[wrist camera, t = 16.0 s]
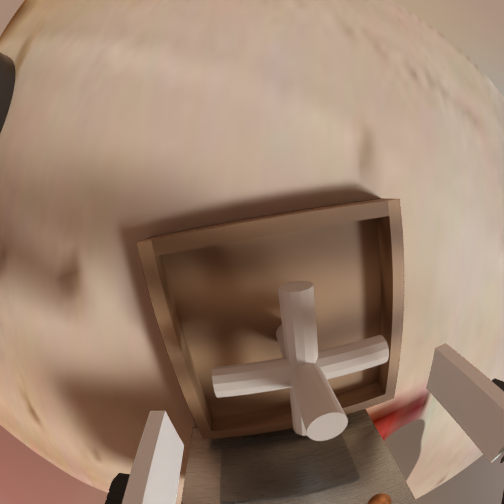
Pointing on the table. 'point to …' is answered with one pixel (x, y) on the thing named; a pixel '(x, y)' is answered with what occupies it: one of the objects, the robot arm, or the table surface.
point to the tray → (277, 303)
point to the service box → (295, 468)
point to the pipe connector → (303, 366)
